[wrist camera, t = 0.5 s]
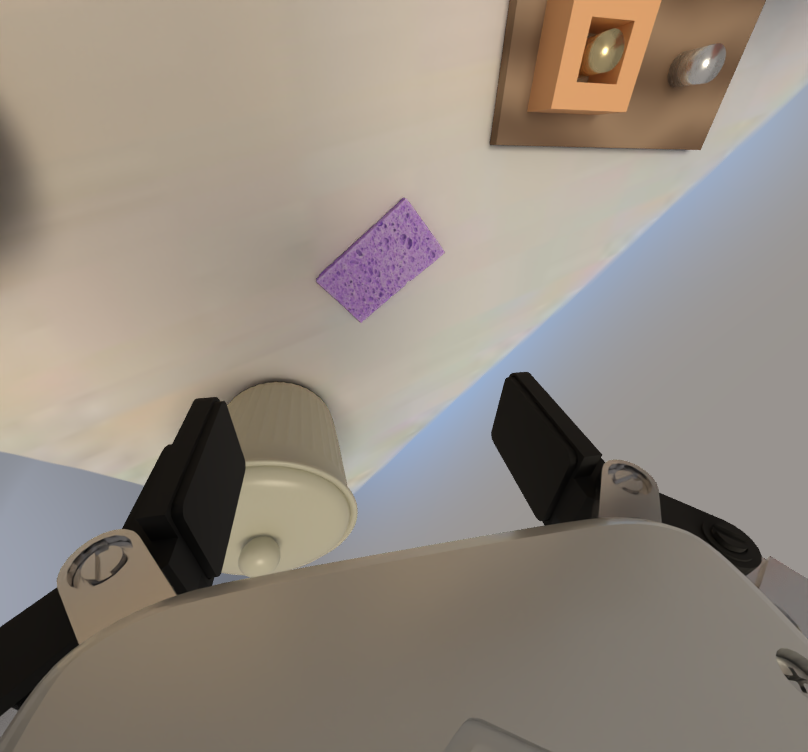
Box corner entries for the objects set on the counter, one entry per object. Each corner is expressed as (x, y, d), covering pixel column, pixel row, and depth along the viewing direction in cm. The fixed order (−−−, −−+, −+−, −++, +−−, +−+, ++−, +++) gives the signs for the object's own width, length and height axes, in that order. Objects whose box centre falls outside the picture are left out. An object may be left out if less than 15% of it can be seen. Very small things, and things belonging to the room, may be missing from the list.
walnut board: (516, -47, 26) (525, -56, 24) (757, -15, 30) (775, -22, 28) (489, 144, 32) (496, 144, 31) (688, 149, 36) (700, 149, 35)
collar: (547, -2, 26) (578, -22, 23) (625, 6, 27) (665, -11, 24) (526, 111, 30) (551, 108, 27) (595, 114, 31) (626, 112, 28)
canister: (373, 410, 49) (401, 553, 32) (289, 475, 53) (273, 632, 36) (270, 330, 39) (230, 478, 22) (176, 419, 43) (83, 599, 26)
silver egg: (676, 49, 30) (707, 42, 27) (699, 51, 30) (731, 44, 28) (662, 86, 31) (691, 82, 29) (685, 88, 32) (715, 83, 29)
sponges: (441, 248, 38) (446, 253, 36) (358, 319, 41) (359, 325, 39) (403, 194, 34) (406, 196, 33) (315, 276, 37) (314, 282, 35)
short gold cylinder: (565, 41, 28) (601, 27, 24) (590, 43, 28) (629, 29, 25) (557, 79, 29) (589, 71, 26) (581, 81, 30) (617, 72, 26)
